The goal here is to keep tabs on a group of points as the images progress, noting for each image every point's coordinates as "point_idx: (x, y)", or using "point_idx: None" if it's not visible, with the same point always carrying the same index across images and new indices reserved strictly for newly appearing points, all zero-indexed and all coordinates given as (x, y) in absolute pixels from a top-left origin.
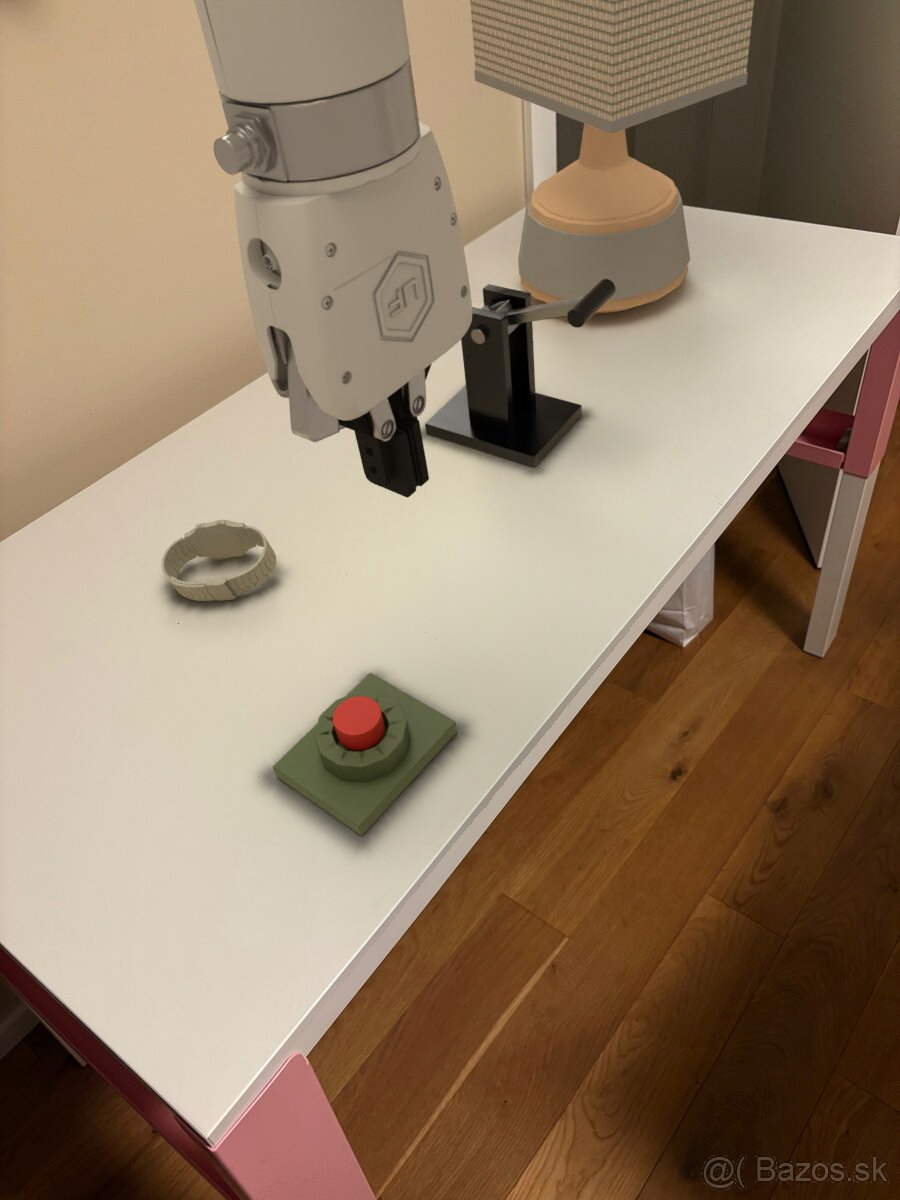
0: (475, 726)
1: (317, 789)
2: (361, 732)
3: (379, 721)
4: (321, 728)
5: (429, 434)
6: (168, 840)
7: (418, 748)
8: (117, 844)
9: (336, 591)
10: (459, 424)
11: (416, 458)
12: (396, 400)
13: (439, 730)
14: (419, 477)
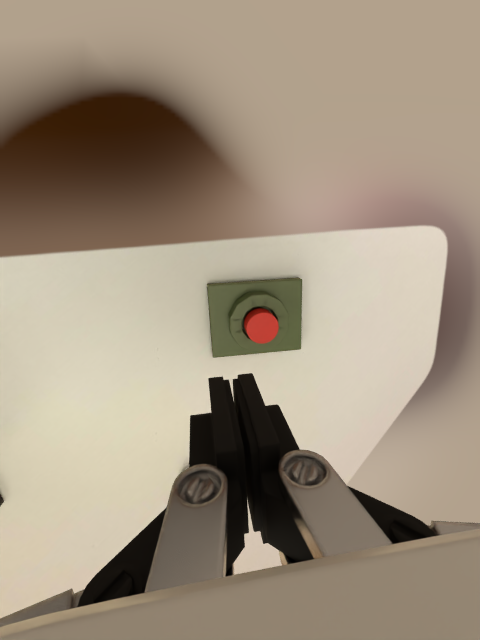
0: (196, 277)
1: (297, 317)
2: (271, 315)
3: (256, 313)
4: (275, 342)
5: (2, 499)
6: (357, 357)
7: (238, 290)
8: (372, 375)
9: (171, 426)
10: None
11: (228, 405)
12: (229, 525)
13: (219, 289)
14: (226, 385)
